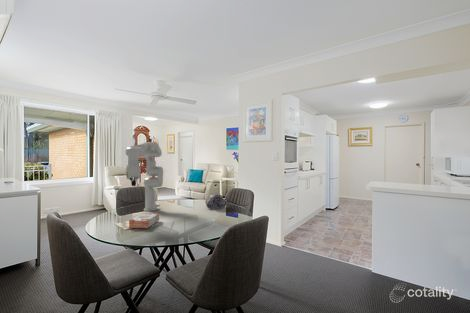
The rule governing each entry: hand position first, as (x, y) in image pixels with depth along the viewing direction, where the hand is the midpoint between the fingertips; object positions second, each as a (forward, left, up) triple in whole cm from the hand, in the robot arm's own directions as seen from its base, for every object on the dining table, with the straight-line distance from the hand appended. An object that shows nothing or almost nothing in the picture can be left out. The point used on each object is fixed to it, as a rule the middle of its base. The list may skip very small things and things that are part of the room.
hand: (133, 185), depth 188 cm
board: (+2, +5, -29) cm, 30 cm away
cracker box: (-11, +8, -26) cm, 29 cm away
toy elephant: (-76, +15, -30) cm, 83 cm away
